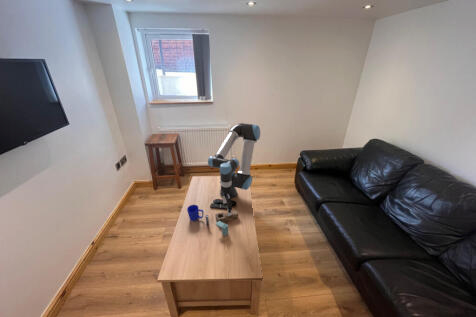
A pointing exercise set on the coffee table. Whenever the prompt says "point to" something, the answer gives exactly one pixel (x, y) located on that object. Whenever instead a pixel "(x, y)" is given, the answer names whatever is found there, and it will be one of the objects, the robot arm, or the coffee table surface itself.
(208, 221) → the rod
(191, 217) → the mug
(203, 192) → the coffee table surface
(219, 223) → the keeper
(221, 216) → the link
